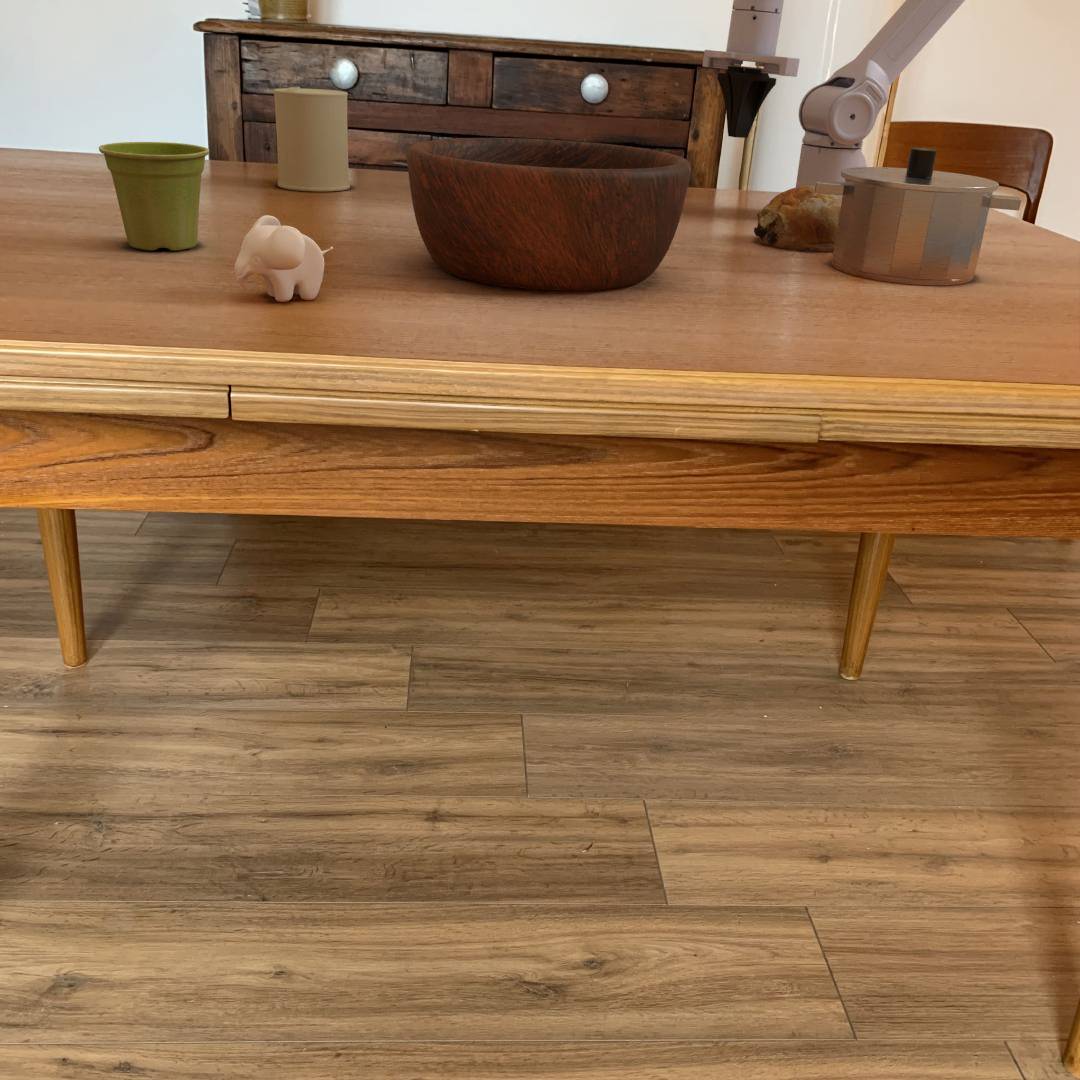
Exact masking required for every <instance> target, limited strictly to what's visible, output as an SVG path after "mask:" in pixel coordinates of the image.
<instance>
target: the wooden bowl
mask: <svg viewBox="0 0 1080 1080" xmlns="http://www.w3.org/2000/svg"><path fill="white" fill-rule="evenodd" d="M406 164H407V173H408V180H409V181H408V182H409V188H410V195H411V202H412V208H413V212H414V213H413V214H414V217H415V221H416V225H417V227H418V230H419V234H420V237H421V240H422V242H423V244H424V246H425V248H426V250H427V252H428V254H429V255H430V257H431V258H432V260H433V262H434V263H435V264H436V265H437V266H438V267H439V268H440V269H441V270H442V271H444V272H446V273H448V274H450V275H453V276H455V277H459V278H461V279H466V280H469V281H472V282H478V283H484V284H488V285H494V286H502V287H508V288H518V289H530V290H545V291H589V290H590V291H593V290H606V289H613V288H615V289H616V288H621V287H626V286H631V285H635V284H637V283H641V282H643V281H645V280H646V279H647V278H649V277H650V276H651V275H653V274H654V272H655V271H656V270H657V269H658V267H659V266H660V265H661V263H662V262H663V260H664V258H665V256H666V255H667V253H668V251H669V250H670V247H671V245H672V243H673V240H674V238H675V236H676V233H677V230H678V227H679V223H680V220H681V218H682V213H683V209H684V205H685V201H686V196H687V191H688V189H689V184H690V178H691V172H692V169H691V167H692V166H691V163H690V162H689V161H688V160H687V159H686V158H685V157H683V156H680V155H676V154H673V153H669V152H665V151H660V150H655V149H649V148H643V147H635V146H628V145H619V144H611V143H600V142H590V141H577V140H563V139H547V138H546V139H544V138H524V137H523V138H522V137H521V138H520V137H519V138H518V137H463V138H462V137H461V138H460V137H458V138H444V139H443V138H442V139H432V140H425V141H421V142H416V143H413V144H412V145H410V146H409V147H408V148H407V152H406Z"/></svg>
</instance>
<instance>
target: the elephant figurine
mask: <svg viewBox="0 0 1080 1080" xmlns="http://www.w3.org/2000/svg"><path fill="white" fill-rule="evenodd" d="M333 249H334V247H333V246H329V248H328V249H326V250H322V249H321V248H320V247H319V245H318V244H317V243H316V242H315V241H314V240H313V239H312V238H310V237H309V236H307V235H305V234H304V233H302V232H301V231H300V230H298V229H297V228H296V227H294V226H290V225H281V222H280V220H279V219H278V218H277V217H275V216H273V215H268V214H266V215H265V214H264V215H262V216H260V217H259V218H258V219H257V220H256V221H255V222H254V223H253V225H252V226H251V228H250V229H249V231H248V232H247V233H246V235H245V236H244V238H243V239H242V243H241V247H240V250H239V254H238V256H237V259H236V260H235V263H234V270H232V271H231V272H230V274H235V277H236V278H235V279H236V281H237V283H238V284H239V285H240V287H242V288H243V289H244V290H246V291H253V290H255V289H256V288H257V287H258V282H257V281H256V280H250V281H248V278H249V277H250V276H253V275H261V276H262V278H263V281H264V284H265V287H266V292H267V294H268V296H269V297H273V298H274V299H275V301H277V302H279V303H285V302H289V301H290V300H291V299H292V298H293V296H294V294H295V295H299V297H300V299H301V300H305V301H312V300H314V299H316V298H317V296H318V294H319V292H320V289H321V286H322V282H323V278H324V271H325V258H324V255H325V254H326V253H328V252H329V251H331V250H333Z"/></svg>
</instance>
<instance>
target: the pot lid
mask: <svg viewBox="0 0 1080 1080" xmlns="http://www.w3.org/2000/svg"><path fill="white" fill-rule="evenodd" d="M909 151H910V152H909V157H908V163H907V166H906V168H905V167H886V166H884V167H883V166H867V167H854V168H846V169H843V170H842V171H841V177H843V178H845V179H847V180H851V181H855V182H859V183H864V184H870V185H876V186H883V187H890V188H899V189H908V190H919V191H932V192H950V193H984V192H992V191H993V192H995V191H997V190H998V189H999V186H1000V184H999V182H997V181H995V180H993V179H991V178H990V179H989V178H986V177H981V176H977V175H970V174H963V173H958V172H957V173H955V172H949V171H940V170H934V169H935V165H936V164H935V163H936V159H937V152H938V150H937V149H935V148H925V147H912V148H910V150H909Z"/></svg>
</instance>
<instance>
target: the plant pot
mask: <svg viewBox="0 0 1080 1080" xmlns="http://www.w3.org/2000/svg"><path fill="white" fill-rule="evenodd" d="M98 151H99V152H100V153H101V154H102V155H103V157H104V160H105V164H106V167H107V169H108V170H109V171H110V173H111V178H112V182H113V186H114V190H115V193H116V199H117V202H118V206H119V211H120V216H121V220H122V224H123V228H124V233H125V236H126V240H127V243H128V245H129V247H131V248H133V249H140V250H144V251H148V252H151V251H152V252H153V251H157V250H158V249H162V248H163V249H168V250H170V251H175V252H179V251H183V250H188V249H190V250H191V249H193V248H194V247H196V246H197V243H198V236H199V217H200V199H201V185H202V174H203V172H204V170H205V161H206V156H208V155H210V149H209V148H207V147H204V146H201V145H198V144H197V145H196V144H191V143H183V142H182V143H181V142H166V141H165V142H164V141H126V142H111V143H105V144H101V145H99V146H98Z"/></svg>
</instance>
